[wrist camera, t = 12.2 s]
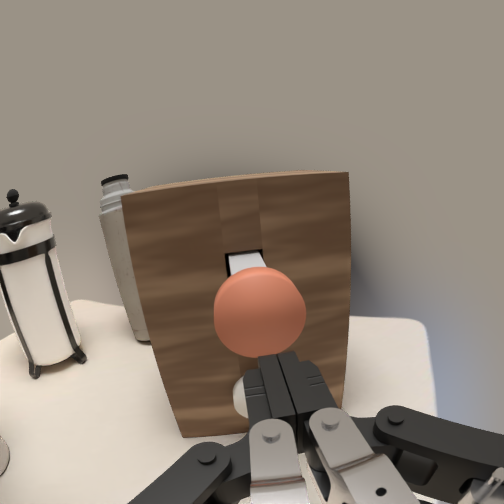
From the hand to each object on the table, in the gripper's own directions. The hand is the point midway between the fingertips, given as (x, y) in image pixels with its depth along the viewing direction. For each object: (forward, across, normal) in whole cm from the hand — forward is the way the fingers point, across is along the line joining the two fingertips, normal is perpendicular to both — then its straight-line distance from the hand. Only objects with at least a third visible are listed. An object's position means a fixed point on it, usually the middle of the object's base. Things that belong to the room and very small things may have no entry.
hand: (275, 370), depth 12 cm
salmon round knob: (+11, 0, +2) cm, 12 cm away
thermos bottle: (+38, +16, +19) cm, 45 cm away
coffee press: (+32, +36, +19) cm, 52 cm away
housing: (+20, 0, +19) cm, 28 cm away
